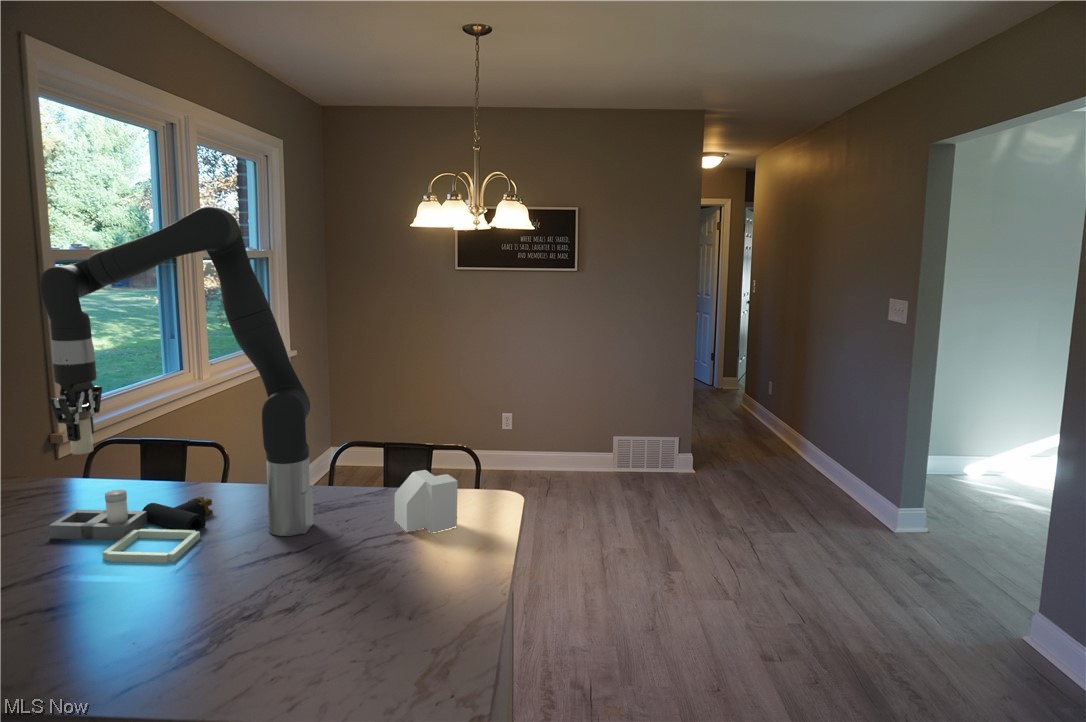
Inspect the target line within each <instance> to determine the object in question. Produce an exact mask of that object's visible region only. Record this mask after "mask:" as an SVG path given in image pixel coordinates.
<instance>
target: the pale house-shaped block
mask: <svg viewBox="0 0 1086 722" xmlns="http://www.w3.org/2000/svg"><path fill="white" fill-rule="evenodd" d="M458 483H459V482H458V480H457V479H456V478H454V477H453V476H452V475H449V474H448V473H447V474H439V475H434V474H432V473H430V471H428V470H426V469H423V470H417V471H412V472H411V474H410V475H409V476H407V478H406V479H405V480H404V482H403V483H402V484H401V485H400V486H399V488H398V489H396V491H395V492H394V522H395V521H396V522H397V523H398V524H399V525H400V526H401V527H402V528H403V529H404V530H405V531H406V532H409V531H413V530H418V529H422V528H426V529H427V530H428V531H430V533H433V532H438V531H441V530H445V529H449V528H452V527H455V526H458ZM401 527H400V528H401ZM402 528H401V529H402ZM403 529H402V530H403ZM426 529H425V530H426ZM404 530H403V531H404ZM427 530H426V531H427ZM405 531H404V532H405ZM428 531H427V532H428ZM406 532H405V533H406ZM430 533H429V534H430Z"/></svg>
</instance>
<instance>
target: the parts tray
mask: <svg viewBox="0 0 1086 722" xmlns="http://www.w3.org/2000/svg"><path fill="white" fill-rule="evenodd" d="M196 530H197V529H196ZM196 530H195V529H191V530H171V529H166V528H164V529H161V528H160V529H159V528H141V529H140V530H133V531H131V532H130V533H129V534H127V535H126V536H125V537H123V538H122V539H120V540H117V541H116V542H115V543H113V544H112V545H110V547H108V548H106V549H105V550H104V551H102V560H106V561H107V562H124V563H126V562H129V563H130V562H131V563H132V562H133V563H134V562H135V563H163V564H164V563H166V564H167V563H168V562H175V561H177V560H178V559H179V558H180V557H181V556H182V555H183V556H182V557H181V559H179V560H178V561H177V562H176V563H175V564H174V566H176V565H177V564H178V563H180V561H181V560H182V559H184V558H185V557H186V556H187V555H189V553H191V552H192V549H190V548H191V547H192V546H194V545H195V543H196V545H195V546H194V547H193V549H195V548H196V547H197V546H198V545H199V544H200V543H201V541H199V540H200V539H201V531H199V530H197V531H196ZM138 538H140V539H166V540H167V539H172V540H173V539H177V540H183V541H181V542H180V543H179V544H178V545H177V546H176V547H175V548H173V549H172V550H171V551H170V552H157V551H156V552H149V551H145V552H143V551H122V550H124V549H125V548H127V547H128V546H129V545H130V544H133V542H135V541H136V540H137V539H138ZM198 541H199V542H198ZM197 542H198V543H197ZM189 549H190V551H188V550H189ZM187 551H188V552H187ZM185 552H187V553H186V554H185ZM184 554H185V555H184Z"/></svg>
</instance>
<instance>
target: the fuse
mask: <svg viewBox="0 0 1086 722" xmlns="http://www.w3.org/2000/svg"><path fill="white" fill-rule="evenodd" d="M127 494H128V492H127V490H126V489H113V490H109V491H107V492H105V493H104V500H105V510H106V514H107V523H111V524H123V523H125V522H126V521H128V511H129V510H128V495H127Z"/></svg>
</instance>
